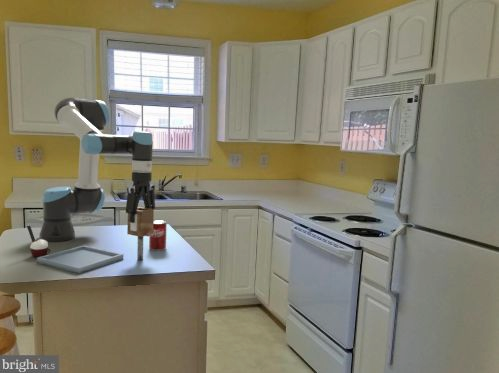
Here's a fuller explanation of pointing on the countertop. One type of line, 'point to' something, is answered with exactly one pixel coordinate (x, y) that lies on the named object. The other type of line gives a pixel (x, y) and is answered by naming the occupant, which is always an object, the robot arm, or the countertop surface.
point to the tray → (80, 259)
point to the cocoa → (38, 245)
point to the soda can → (158, 236)
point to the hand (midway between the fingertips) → (140, 228)
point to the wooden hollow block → (142, 222)
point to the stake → (140, 249)
